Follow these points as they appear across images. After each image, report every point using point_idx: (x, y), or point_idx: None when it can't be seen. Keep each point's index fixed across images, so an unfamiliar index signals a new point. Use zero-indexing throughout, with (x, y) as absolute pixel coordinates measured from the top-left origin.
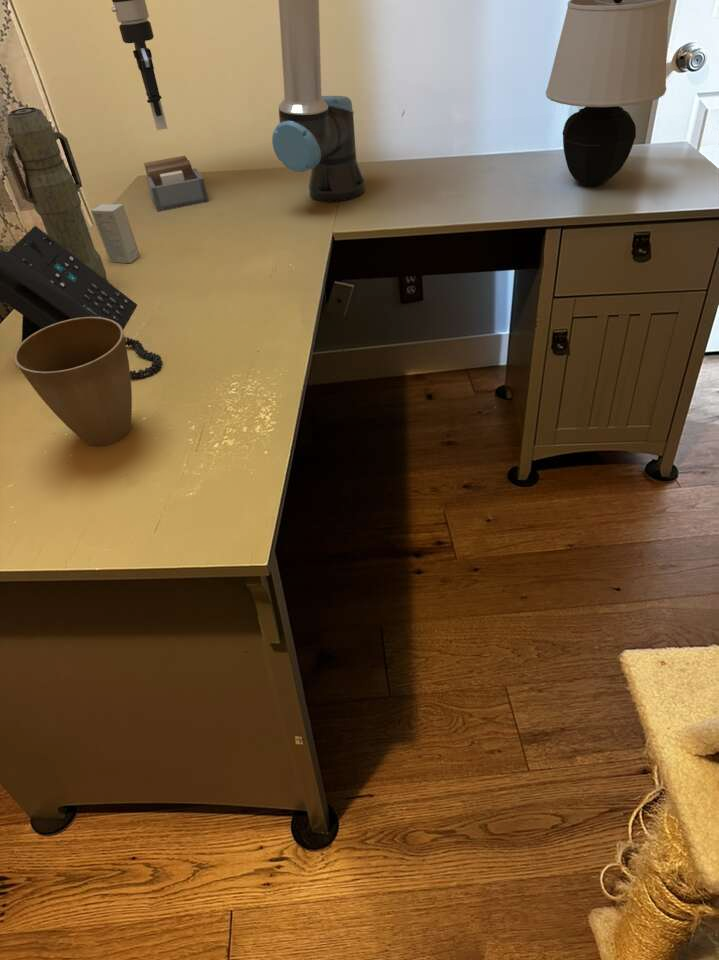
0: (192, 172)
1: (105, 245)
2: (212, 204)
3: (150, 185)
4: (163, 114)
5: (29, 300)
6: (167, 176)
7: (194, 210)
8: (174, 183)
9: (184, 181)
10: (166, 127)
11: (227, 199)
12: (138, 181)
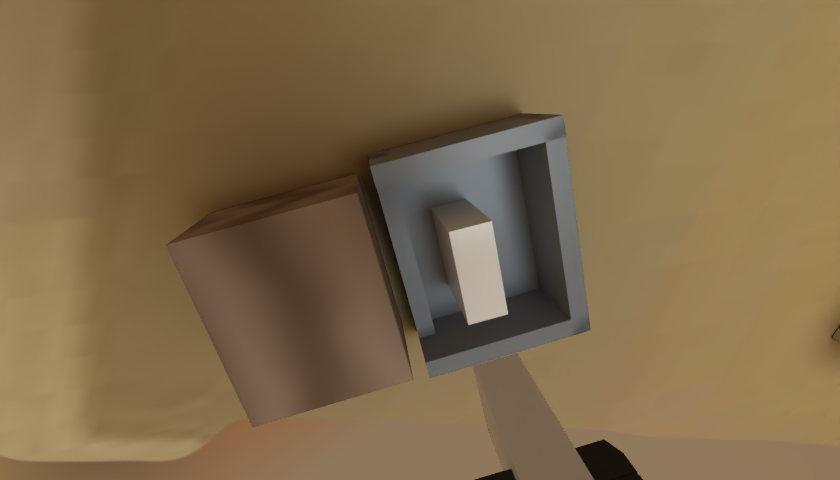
0: (357, 187)
1: None
2: (563, 94)
3: (547, 341)
4: (562, 433)
5: None
6: (501, 286)
7: (597, 163)
8: (569, 246)
9: (563, 204)
10: (519, 363)
11: (531, 28)
12: (165, 422)
